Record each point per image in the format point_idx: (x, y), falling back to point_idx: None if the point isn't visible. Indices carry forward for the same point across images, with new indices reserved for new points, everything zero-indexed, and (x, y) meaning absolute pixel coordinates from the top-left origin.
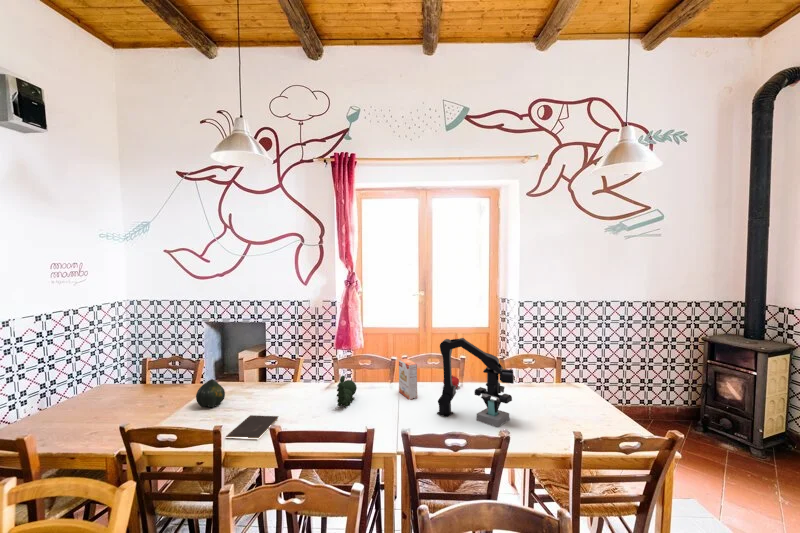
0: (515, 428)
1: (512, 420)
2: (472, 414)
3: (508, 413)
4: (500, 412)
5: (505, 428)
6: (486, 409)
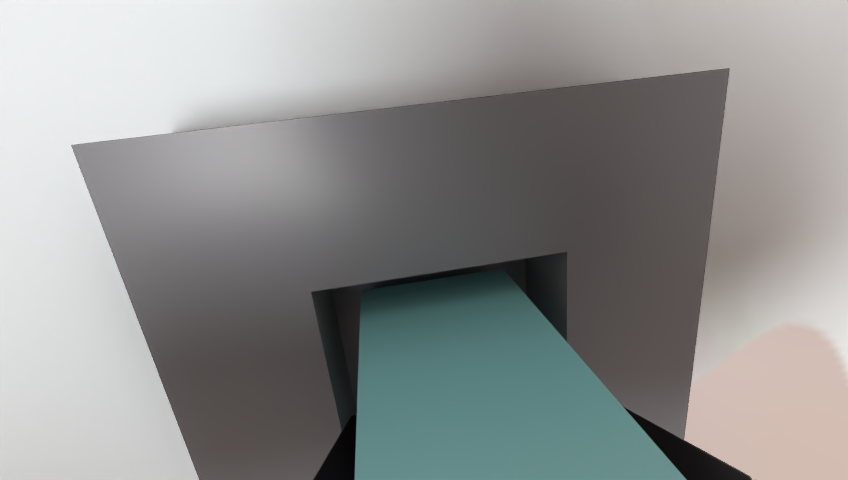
0: (800, 273)
1: (673, 55)
2: (37, 397)
3: (721, 104)
4: (548, 209)
5: (695, 370)
6: (193, 330)
